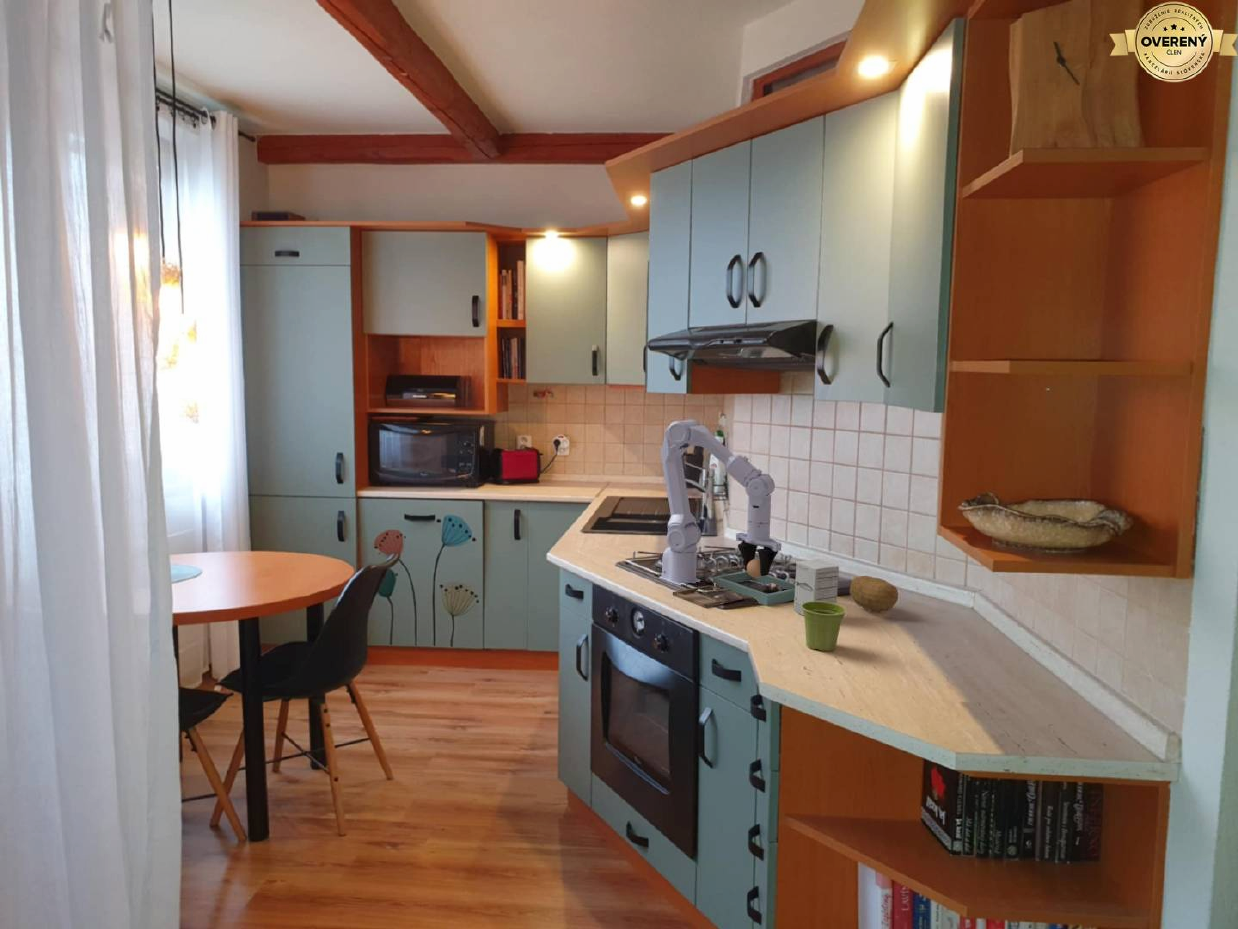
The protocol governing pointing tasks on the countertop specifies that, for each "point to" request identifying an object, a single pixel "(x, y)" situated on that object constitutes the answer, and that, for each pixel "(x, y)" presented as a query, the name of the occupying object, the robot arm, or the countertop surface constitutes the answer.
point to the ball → (754, 568)
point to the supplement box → (815, 583)
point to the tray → (766, 599)
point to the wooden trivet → (697, 597)
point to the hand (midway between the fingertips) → (756, 573)
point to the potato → (873, 593)
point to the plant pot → (822, 624)
